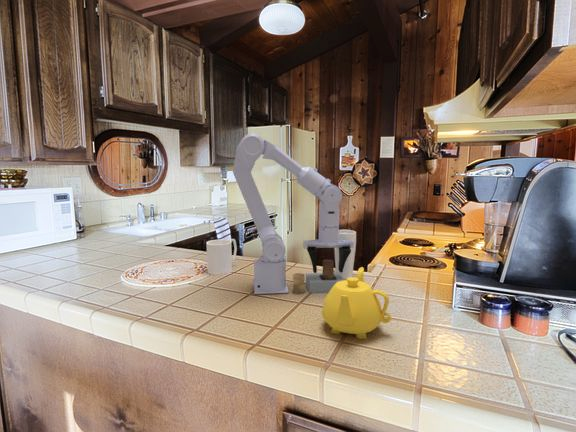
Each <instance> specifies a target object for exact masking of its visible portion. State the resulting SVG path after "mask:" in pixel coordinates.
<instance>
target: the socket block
mask: <svg viewBox="0 0 576 432" xmlns="http://www.w3.org/2000/svg"><path fill="white" fill-rule="evenodd" d="M322 276H323V272H319V273H318V272H317V273H314V272H313V273H305V285H306V287H307V290H308V292H309V294H314V293H315V294H317V293H329V291H330V290H331V289H332V287H333V286H334V285H335V284H336V283H337V282H339V281H343V279H342V277H341V276H340V275H339V273H336V272H334V276H333V280H322Z"/></svg>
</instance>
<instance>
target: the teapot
mask: <svg viewBox="0 0 576 432" xmlns="http://www.w3.org/2000/svg"><path fill="white" fill-rule="evenodd" d="M364 272H365V268H364V267H363V266H361V267H359V268H358V269H357V273H356V276H353V277H349V278H347V280H343V281H339V282H337V283H336V284H335V285H334V286H333V287H332V289H331V290H330V291H329V292H327V294H326V296H325V299H324V301H323V305H322V307H321V314H322V315H321V316H322V318H323V319H324V321H325V322H326V324H327V325H328V326H329V327H330V328H331V329H330V333H331V334H333V335H340V334H341V333H345V334H351V335H355V337H356V338H357V339H359V340H366V339H367V338H368V335H367V333H370V332H373V331H374V330H375V329H376V328H377V327H378V326H379V325H380V324H381V323H383V324H388V323H390V322H391V321H392V315H391V313H388V312H386V311H387V309H388V306H389V302H390V298H389V295H388V294H387V292H385V291H383V290H380V289H373V288H372V286H371V285H370V284H368V283H366V282H365V281H364V280H365V279H364ZM377 295H380V296H382V297H383V299H384V303H383V307H382V305H381V302H380V299H379V298H378V296H377ZM386 317H387V318H386Z"/></svg>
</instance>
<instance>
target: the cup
mask: <svg viewBox="0 0 576 432" xmlns="http://www.w3.org/2000/svg"><path fill="white" fill-rule="evenodd" d="M232 243H233V247H234V250H232ZM237 247H238V246H237V241H236V239H235V238H231V239H213V240H212V239H211V240H208V241H206V263H207V264H206V267H207V269H206V270H207V274H210V275H213V276H223V275H228V274H229V273H232V272H233V261H235V259H236V257H237V251H238V250H237V249H238V248H237ZM232 251H233V253H232ZM232 254H233V255H232Z"/></svg>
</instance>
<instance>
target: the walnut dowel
mask: <svg viewBox="0 0 576 432" xmlns="http://www.w3.org/2000/svg"><path fill="white" fill-rule="evenodd" d="M334 263H335V261H334V260H333V259H324V260H322V273H323V276H322V280H333V276H334V273H335V270H334V269H335V267H334V265H335V264H334Z"/></svg>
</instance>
